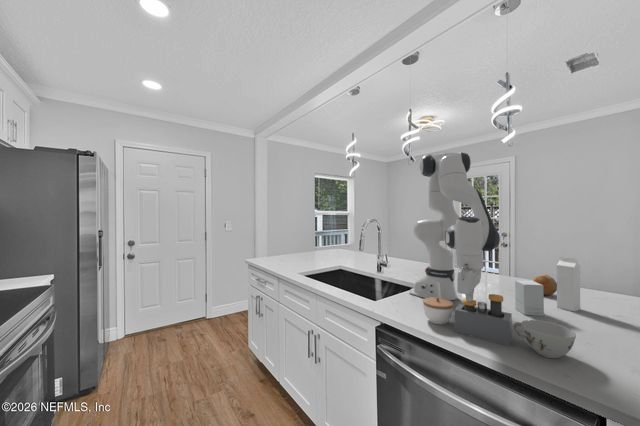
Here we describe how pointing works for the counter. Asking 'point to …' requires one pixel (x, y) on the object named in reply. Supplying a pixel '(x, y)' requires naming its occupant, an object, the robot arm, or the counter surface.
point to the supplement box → (529, 298)
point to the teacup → (547, 337)
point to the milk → (568, 284)
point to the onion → (547, 284)
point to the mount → (484, 325)
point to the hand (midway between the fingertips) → (469, 300)
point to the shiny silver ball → (482, 307)
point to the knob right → (496, 305)
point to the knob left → (469, 305)
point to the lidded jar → (438, 310)
